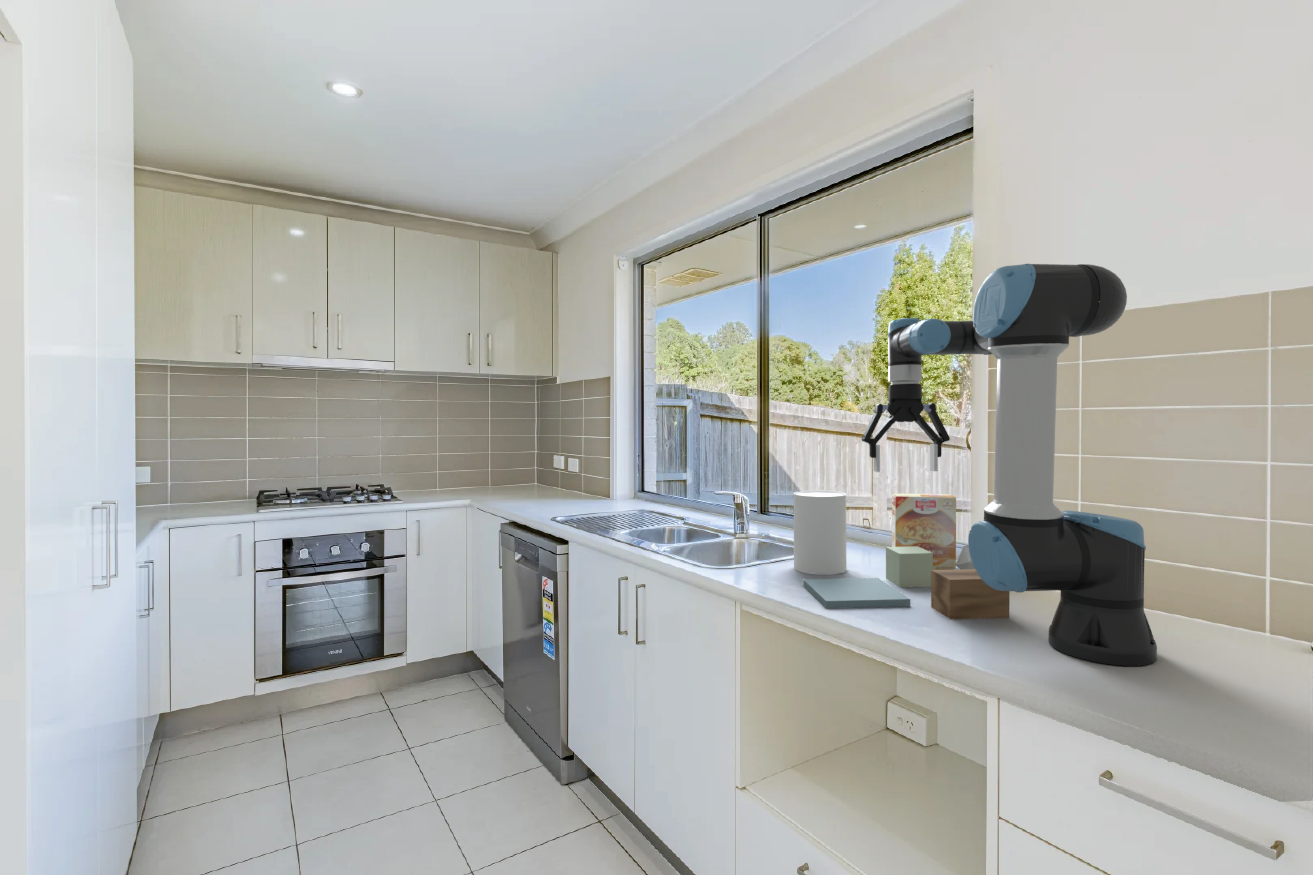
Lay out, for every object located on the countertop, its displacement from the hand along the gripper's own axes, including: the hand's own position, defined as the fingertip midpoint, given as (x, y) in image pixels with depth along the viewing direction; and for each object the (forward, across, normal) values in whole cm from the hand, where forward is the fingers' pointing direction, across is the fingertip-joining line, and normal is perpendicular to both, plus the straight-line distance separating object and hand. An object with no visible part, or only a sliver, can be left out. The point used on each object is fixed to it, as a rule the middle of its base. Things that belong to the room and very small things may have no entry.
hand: (905, 471), depth 154 cm
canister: (+27, +18, -13) cm, 35 cm away
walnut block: (+27, -4, +25) cm, 37 cm away
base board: (+27, +16, +13) cm, 34 cm away
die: (+27, -18, -2) cm, 33 cm away
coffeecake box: (+27, -9, -14) cm, 32 cm away
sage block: (+27, 0, +1) cm, 27 cm away
